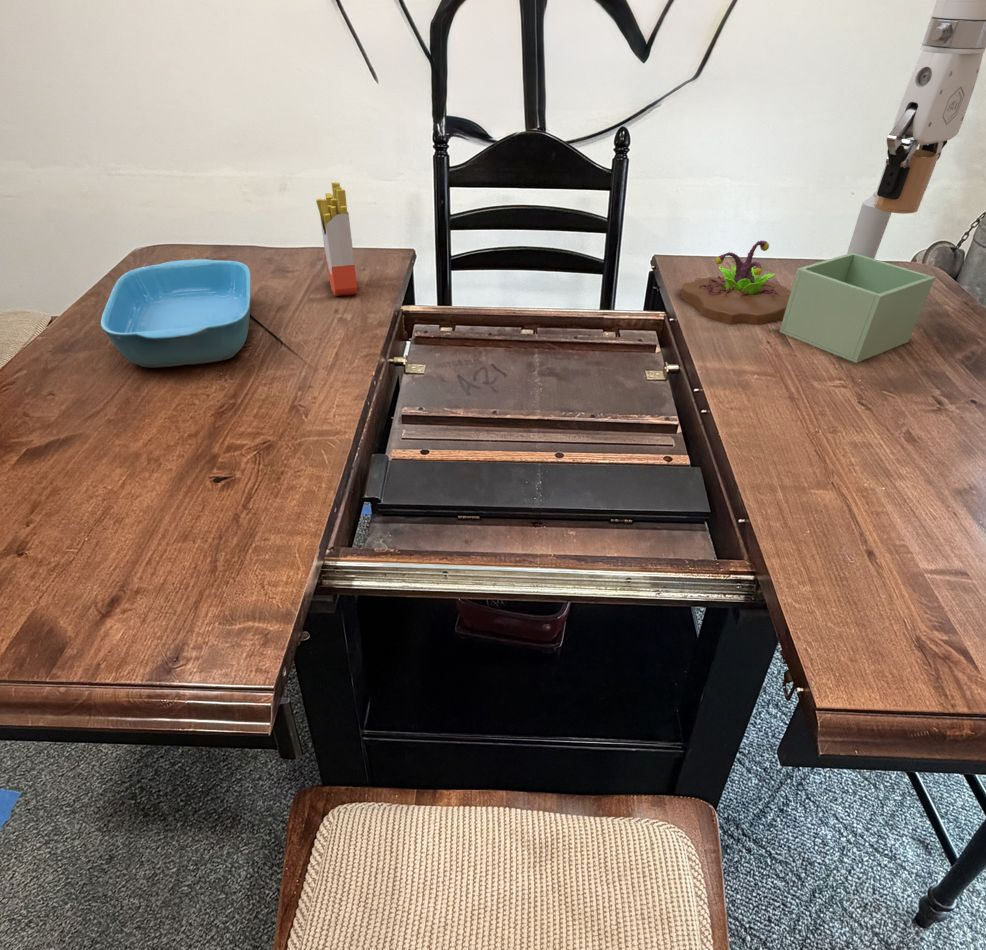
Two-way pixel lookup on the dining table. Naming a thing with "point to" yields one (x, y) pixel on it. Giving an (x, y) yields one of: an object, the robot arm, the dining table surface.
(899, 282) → the bin
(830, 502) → the dining table surface
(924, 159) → the paper cup
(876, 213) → the bottle
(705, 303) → the plant
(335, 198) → the french fries container
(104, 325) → the casserole dish
